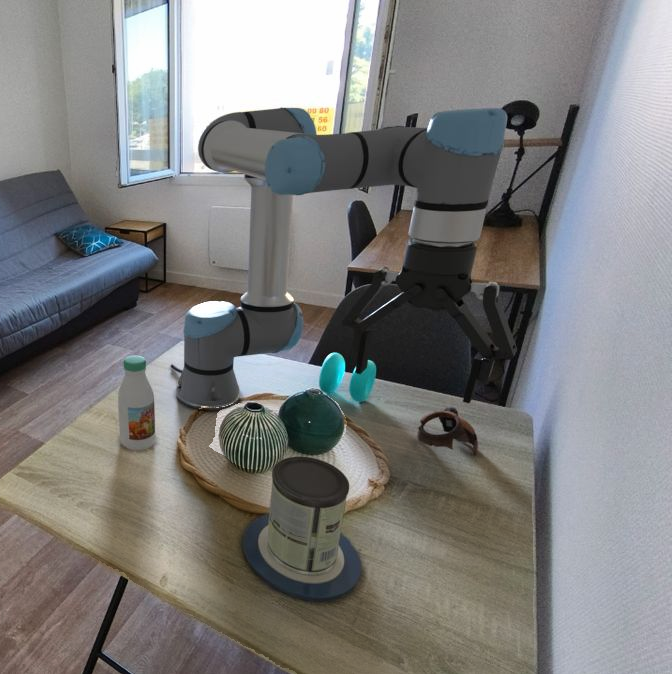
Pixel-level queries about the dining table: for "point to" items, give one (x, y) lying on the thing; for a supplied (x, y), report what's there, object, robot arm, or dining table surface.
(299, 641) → the dining table surface
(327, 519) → the coffee can
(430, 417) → the brown jagged ring piece
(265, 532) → the plate
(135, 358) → the milk bottle
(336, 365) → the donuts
